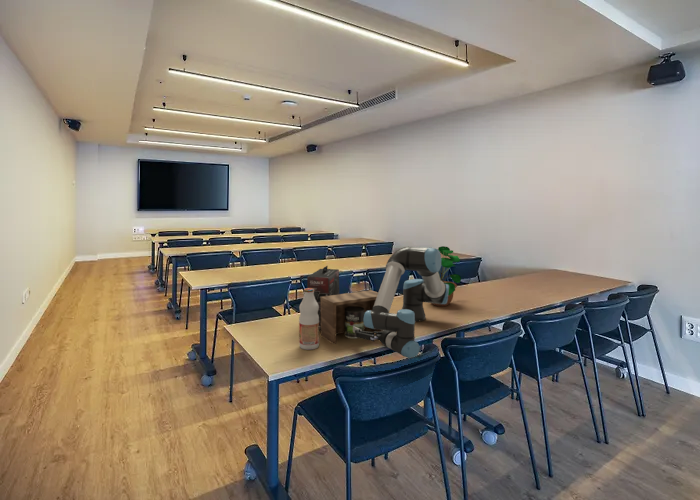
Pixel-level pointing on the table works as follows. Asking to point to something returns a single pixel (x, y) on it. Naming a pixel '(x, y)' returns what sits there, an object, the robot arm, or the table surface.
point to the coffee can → (353, 320)
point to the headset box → (323, 285)
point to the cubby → (342, 311)
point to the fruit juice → (309, 321)
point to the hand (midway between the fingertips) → (365, 326)
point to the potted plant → (447, 263)
